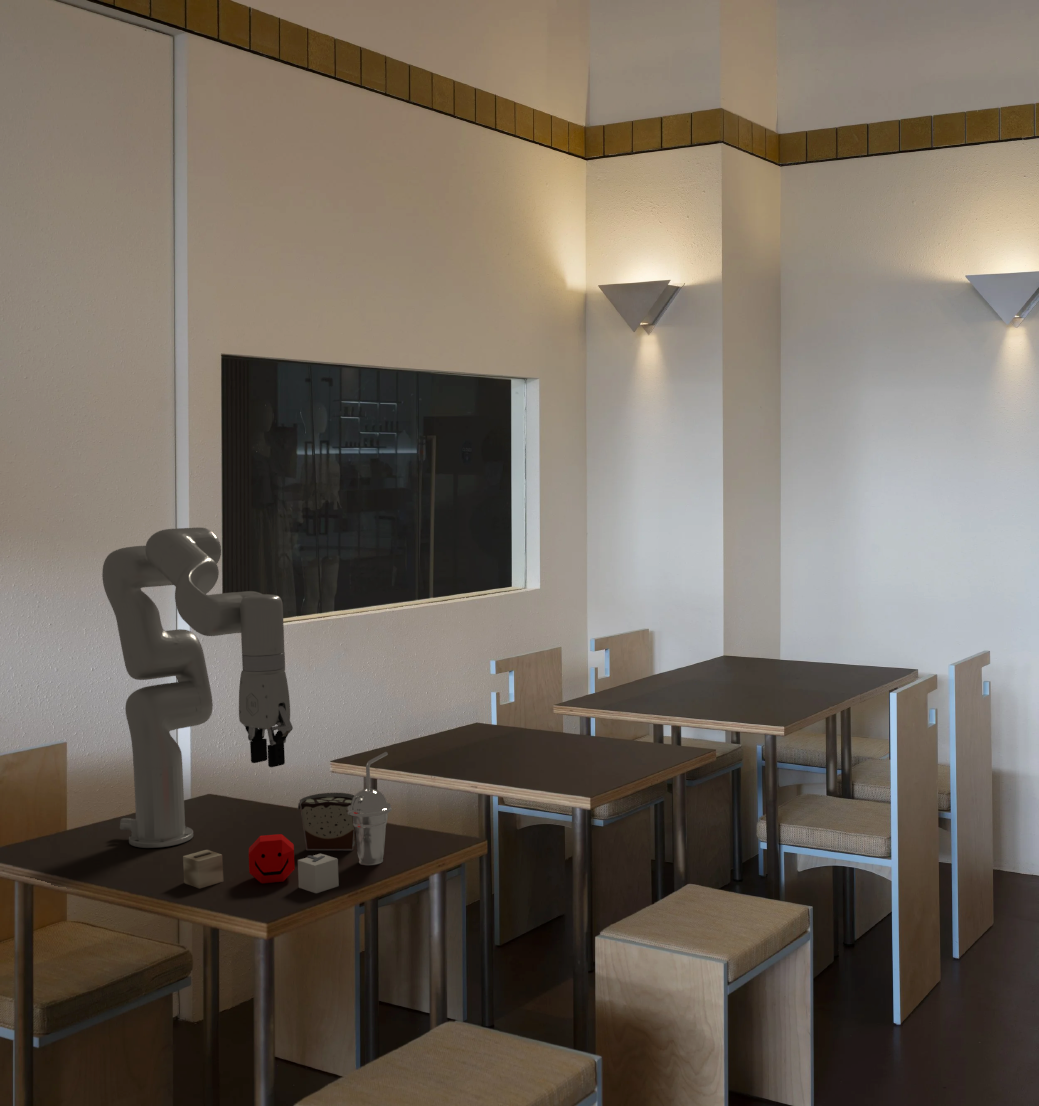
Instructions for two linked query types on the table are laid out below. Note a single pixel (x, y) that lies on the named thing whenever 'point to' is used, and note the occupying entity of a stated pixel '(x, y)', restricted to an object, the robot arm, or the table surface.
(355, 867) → the table surface
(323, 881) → the off-white block numbered 7
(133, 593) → the robot arm
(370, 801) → the cup with straw
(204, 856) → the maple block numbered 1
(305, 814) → the food container
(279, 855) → the ball
